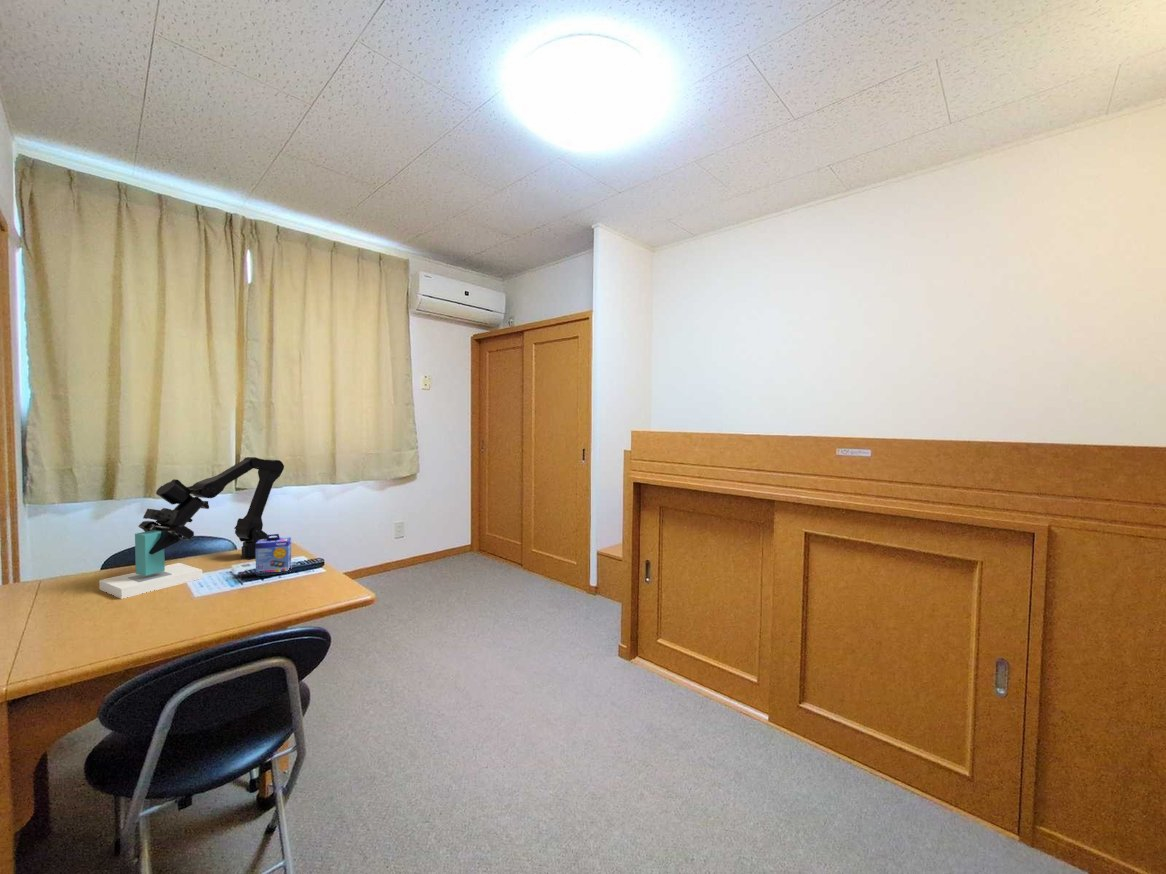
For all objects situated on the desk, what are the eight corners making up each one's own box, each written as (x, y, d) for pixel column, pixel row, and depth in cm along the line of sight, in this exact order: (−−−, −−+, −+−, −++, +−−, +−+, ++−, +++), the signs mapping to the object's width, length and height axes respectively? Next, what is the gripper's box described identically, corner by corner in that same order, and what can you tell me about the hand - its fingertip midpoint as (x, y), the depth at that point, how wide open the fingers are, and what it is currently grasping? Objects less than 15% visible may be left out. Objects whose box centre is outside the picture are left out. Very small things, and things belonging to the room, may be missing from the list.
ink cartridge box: (254, 578, 152) (254, 536, 151) (258, 573, 157) (258, 532, 156) (289, 574, 156) (288, 533, 156) (291, 569, 161) (291, 530, 161)
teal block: (154, 568, 147) (154, 530, 147) (164, 570, 146) (164, 531, 145) (135, 573, 143) (134, 533, 142) (145, 575, 141) (144, 535, 141)
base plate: (179, 571, 158) (179, 562, 158) (202, 578, 151) (202, 569, 151) (99, 589, 140) (99, 579, 140) (121, 598, 133) (121, 588, 133)
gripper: (144, 497, 150) (102, 537, 140) (182, 500, 144) (141, 542, 134) (172, 515, 158) (134, 554, 148) (209, 519, 152) (172, 560, 142)
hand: (144, 553), depth 143 cm, fingers closed on teal block, 5 cm apart
